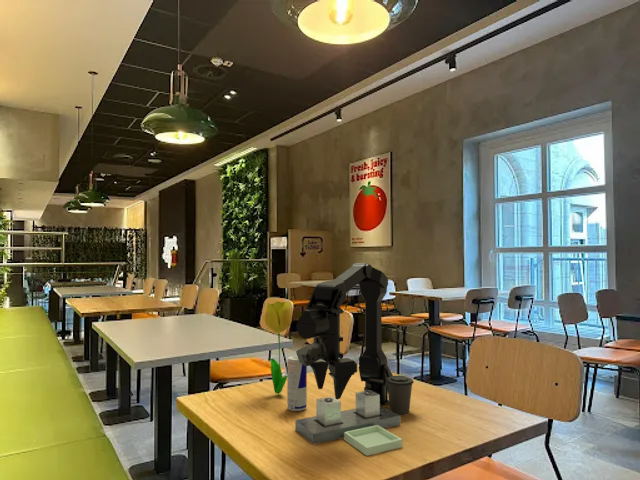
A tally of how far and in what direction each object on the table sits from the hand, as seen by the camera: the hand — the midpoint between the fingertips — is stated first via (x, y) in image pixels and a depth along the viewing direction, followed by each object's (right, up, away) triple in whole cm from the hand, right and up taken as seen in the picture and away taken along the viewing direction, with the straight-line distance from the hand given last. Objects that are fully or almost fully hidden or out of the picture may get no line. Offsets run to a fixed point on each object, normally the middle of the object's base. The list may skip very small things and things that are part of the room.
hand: (328, 393), depth 116 cm
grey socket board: (+5, -10, +2) cm, 11 cm away
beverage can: (-9, -10, +16) cm, 21 cm away
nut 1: (0, -10, 0) cm, 10 cm away
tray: (+10, -9, -7) cm, 16 cm away
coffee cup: (+21, -10, +14) cm, 27 cm away
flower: (-16, -10, +29) cm, 34 cm away
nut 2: (+11, -10, +5) cm, 15 cm away
